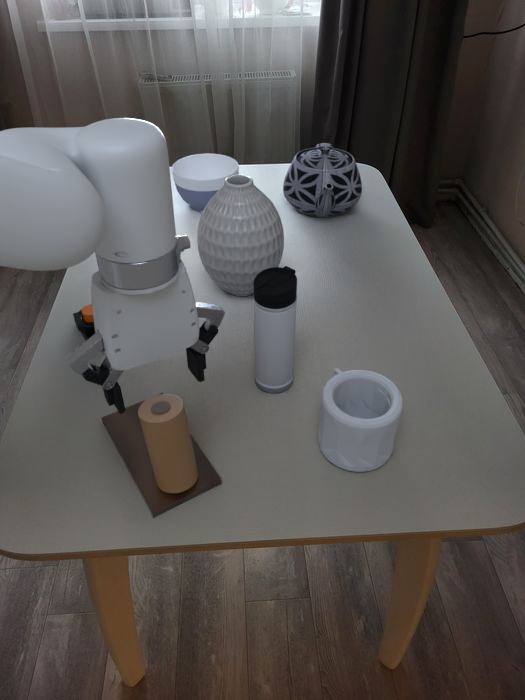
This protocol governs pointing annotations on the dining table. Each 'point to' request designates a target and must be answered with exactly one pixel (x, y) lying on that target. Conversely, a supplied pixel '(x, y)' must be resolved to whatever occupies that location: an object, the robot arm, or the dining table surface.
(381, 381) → the mug
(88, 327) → the button box
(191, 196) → the bowl
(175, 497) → the holder
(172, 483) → the paper roll
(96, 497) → the dining table surface
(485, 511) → the dining table surface
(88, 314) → the button
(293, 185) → the teapot
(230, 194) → the vase
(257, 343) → the travel mug
